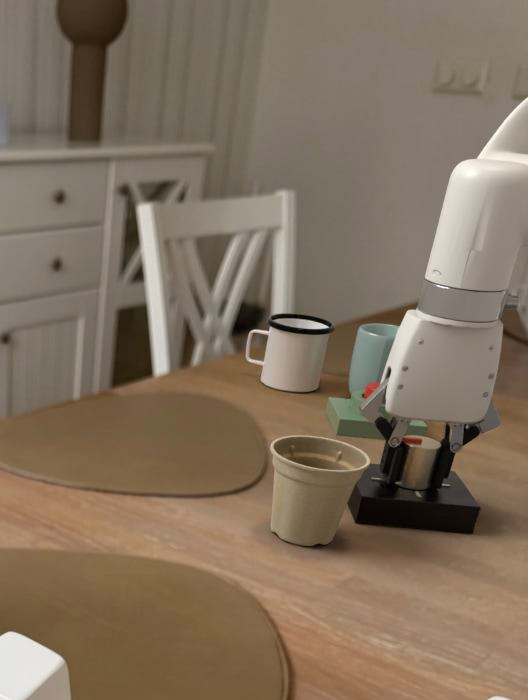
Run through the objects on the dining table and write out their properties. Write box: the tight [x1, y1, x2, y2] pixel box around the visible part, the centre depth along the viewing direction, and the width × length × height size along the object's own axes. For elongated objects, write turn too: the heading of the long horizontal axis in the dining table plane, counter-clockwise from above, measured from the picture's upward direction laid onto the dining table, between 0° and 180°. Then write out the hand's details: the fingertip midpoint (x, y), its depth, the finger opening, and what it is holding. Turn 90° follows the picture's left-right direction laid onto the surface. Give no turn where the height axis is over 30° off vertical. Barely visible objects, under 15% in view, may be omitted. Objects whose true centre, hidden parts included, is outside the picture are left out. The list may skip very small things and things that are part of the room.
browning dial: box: [395, 435, 442, 490], centre depth 102 cm, size 4×4×5 cm
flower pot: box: [269, 434, 371, 547], centre depth 96 cm, size 9×9×9 cm
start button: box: [363, 383, 380, 399], centre depth 126 cm, size 4×4×2 cm
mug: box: [245, 312, 336, 394], centre depth 140 cm, size 12×10×9 cm
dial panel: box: [347, 462, 482, 535], centre depth 104 cm, size 12×10×3 cm
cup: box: [348, 323, 400, 396], centre depth 135 cm, size 8×8×10 cm
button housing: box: [324, 390, 428, 441], centre depth 127 cm, size 11×9×4 cm
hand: (411, 479), depth 103 cm, fingers closed on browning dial, 4 cm apart
